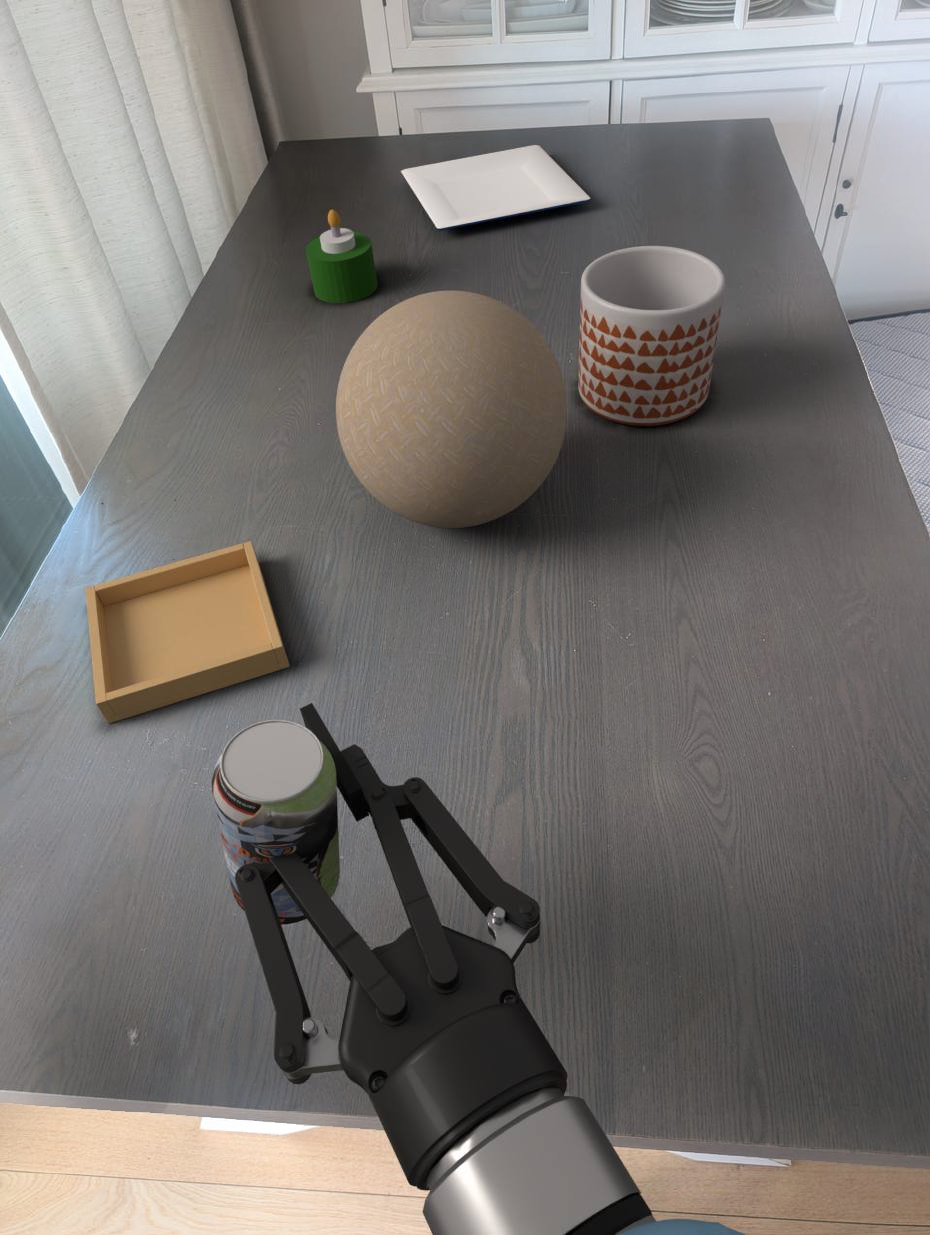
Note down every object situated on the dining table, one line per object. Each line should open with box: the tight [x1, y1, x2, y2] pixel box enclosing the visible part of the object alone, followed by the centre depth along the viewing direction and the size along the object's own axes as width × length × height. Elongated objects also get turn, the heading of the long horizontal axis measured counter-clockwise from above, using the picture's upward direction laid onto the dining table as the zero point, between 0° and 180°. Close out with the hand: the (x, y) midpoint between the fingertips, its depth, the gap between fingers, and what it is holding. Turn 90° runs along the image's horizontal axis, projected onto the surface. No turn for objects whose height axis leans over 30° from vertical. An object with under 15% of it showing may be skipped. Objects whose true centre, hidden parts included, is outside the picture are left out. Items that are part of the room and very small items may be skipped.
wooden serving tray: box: [84, 540, 290, 724], centre depth 75 cm, size 15×14×3 cm
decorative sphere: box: [335, 290, 568, 529], centre depth 78 cm, size 20×20×20 cm
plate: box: [400, 144, 591, 231], centre depth 132 cm, size 22×22×2 cm
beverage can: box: [211, 719, 341, 926], centre depth 47 cm, size 6×7×12 cm
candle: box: [305, 209, 378, 304], centre depth 113 cm, size 8×8×10 cm
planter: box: [578, 245, 726, 427], centre depth 91 cm, size 14×14×13 cm
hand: (280, 735), depth 50 cm, fingers closed on beverage can, 3 cm apart
